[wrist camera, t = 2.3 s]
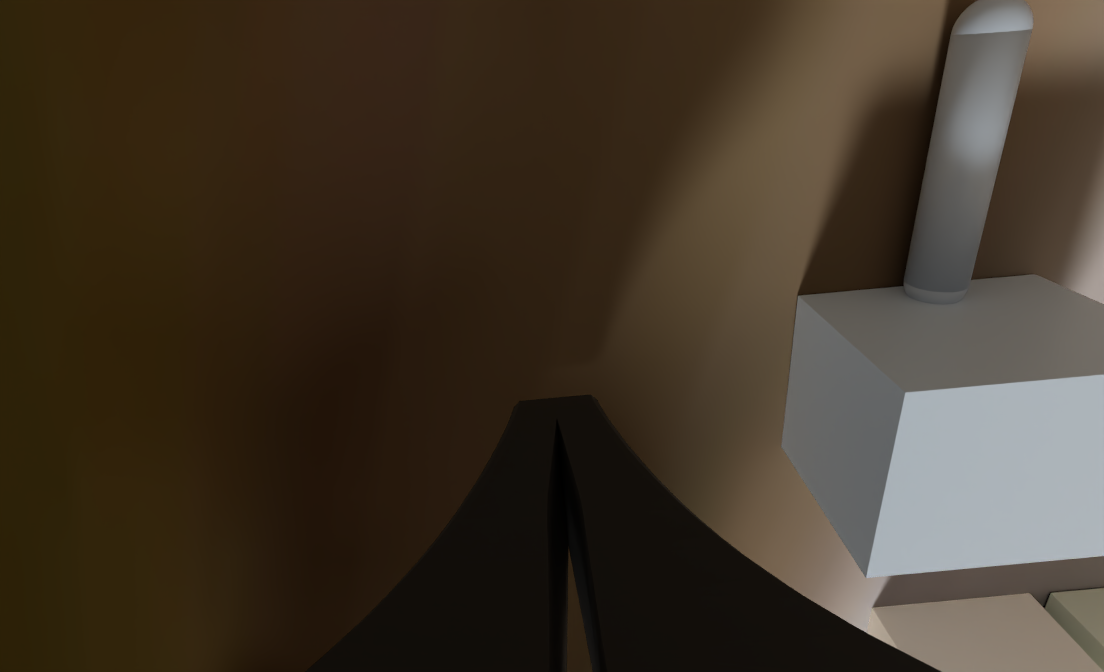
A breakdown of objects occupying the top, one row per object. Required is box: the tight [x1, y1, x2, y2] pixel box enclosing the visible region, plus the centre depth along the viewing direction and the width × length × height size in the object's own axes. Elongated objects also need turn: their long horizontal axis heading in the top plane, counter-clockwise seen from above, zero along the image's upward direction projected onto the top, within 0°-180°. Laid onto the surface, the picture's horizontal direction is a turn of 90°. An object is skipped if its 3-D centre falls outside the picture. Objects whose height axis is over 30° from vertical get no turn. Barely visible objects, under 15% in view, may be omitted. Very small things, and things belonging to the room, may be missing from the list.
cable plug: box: [781, 0, 1104, 578], centre depth 9 cm, size 4×8×4 cm, turn 5°
